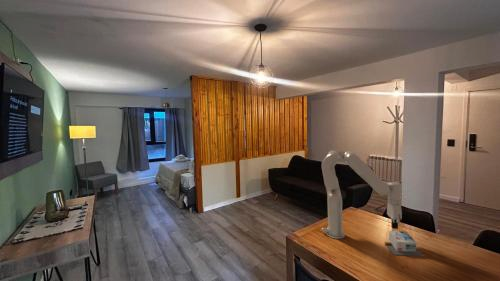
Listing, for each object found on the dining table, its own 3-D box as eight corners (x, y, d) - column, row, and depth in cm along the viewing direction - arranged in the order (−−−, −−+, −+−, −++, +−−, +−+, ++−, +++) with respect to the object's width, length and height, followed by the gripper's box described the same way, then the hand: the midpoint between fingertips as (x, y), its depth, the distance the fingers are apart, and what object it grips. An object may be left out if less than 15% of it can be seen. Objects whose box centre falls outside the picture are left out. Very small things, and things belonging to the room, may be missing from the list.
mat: (393, 255, 127) (393, 254, 127) (386, 246, 136) (386, 245, 136) (423, 256, 124) (423, 255, 124) (413, 247, 134) (413, 246, 134)
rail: (385, 245, 137) (385, 243, 137) (384, 244, 138) (384, 242, 138) (413, 246, 134) (413, 244, 134) (412, 245, 136) (411, 243, 136)
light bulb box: (406, 231, 137) (417, 242, 126) (405, 240, 138) (416, 252, 128) (388, 230, 139) (397, 242, 128) (388, 239, 140) (396, 251, 129)
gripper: (383, 197, 147) (383, 222, 149) (393, 205, 133) (393, 233, 134) (395, 197, 146) (395, 223, 147) (407, 205, 131) (407, 234, 133)
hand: (394, 228), depth 141 cm, fingers closed
